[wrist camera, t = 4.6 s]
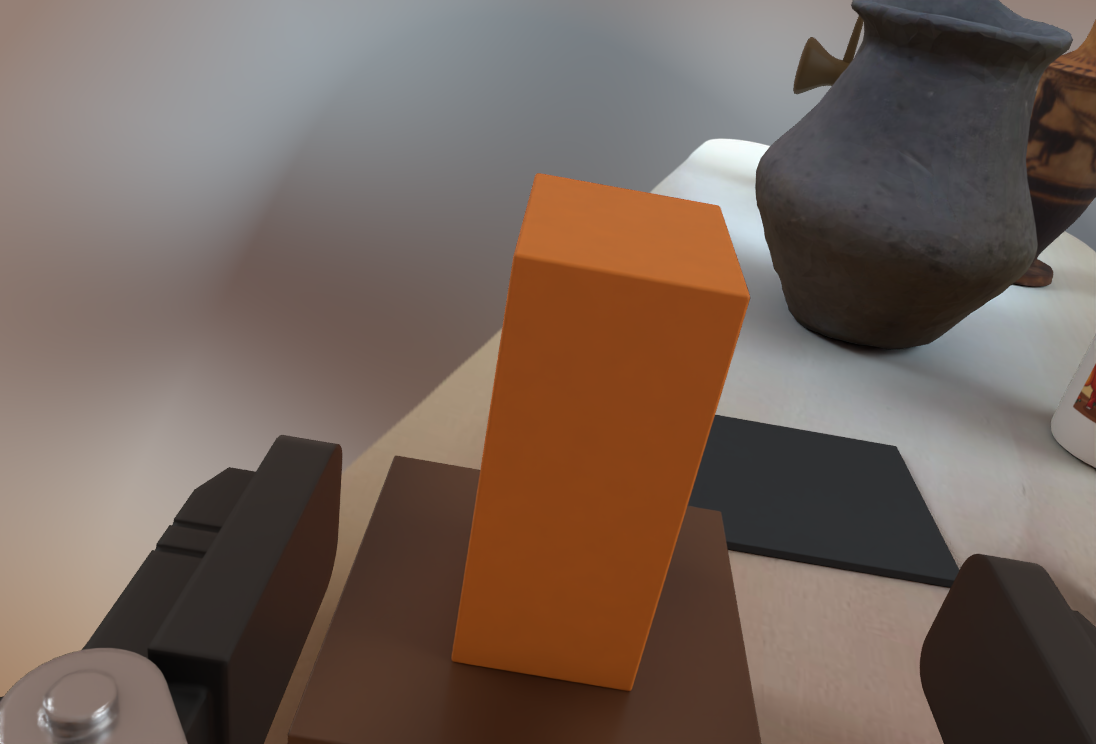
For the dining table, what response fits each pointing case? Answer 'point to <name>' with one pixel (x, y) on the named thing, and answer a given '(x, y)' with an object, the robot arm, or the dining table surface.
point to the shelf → (503, 696)
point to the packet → (595, 427)
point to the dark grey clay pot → (910, 174)
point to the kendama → (823, 63)
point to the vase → (1062, 150)
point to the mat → (820, 501)
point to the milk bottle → (1079, 411)
